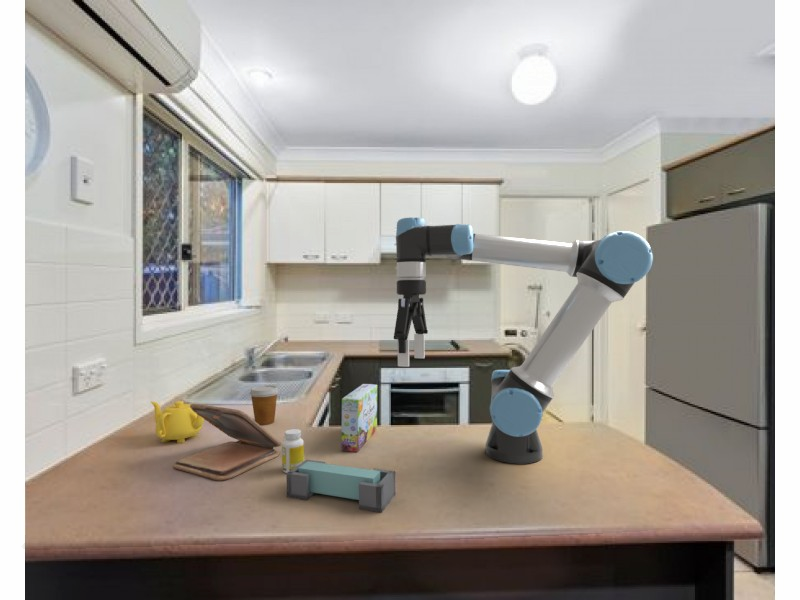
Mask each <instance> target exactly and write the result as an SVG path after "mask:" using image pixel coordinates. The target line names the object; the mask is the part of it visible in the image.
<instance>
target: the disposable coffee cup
mask: <svg viewBox="0 0 800 600" xmlns="http://www.w3.org/2000/svg"><path fill="white" fill-rule="evenodd" d="M249 394H250V396H251V403H252V409H253V410H252V411H253V415H254V421H255V422H257V423H258V424H259V425H260V426H266V425H271V424H274V423H275V420H276V419H275V418H276V408H277V400H278V394H279V389H278V386H276V385H271V384H269V385H266V384H265V385H257V386H253V387H252V388H251V389H250V392H249Z"/></svg>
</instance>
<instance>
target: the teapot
mask: <svg viewBox="0 0 800 600" xmlns="http://www.w3.org/2000/svg"><path fill="white" fill-rule="evenodd" d="M150 403H151V404H152V406H153V407H154V422H155V423H156V424H155V429H154V430H155V434H156V435H157V437H158V438H160V439H161V441H160V443H168V442H170V441H173V440H176V444H178V445H180V444H184V443H186V439H187V438H197V437H198V434H199V432H200V431H201V430H202V429H203V426H204V425H203V424H204V421H205V419H204V418H202V417H201V416H199V415H198V414H196V413H195V412H194V411H193V410H192V409H191V408H190V405H191V404H192V403H184V401H183V400H182V401H181V400H177V401H175V402H174V403H173V405H169V406H166V407H165V408H164V409H163V410H162V409H161V406H160V404H159V403H158V402H156V401H154V400H153V401H150Z"/></svg>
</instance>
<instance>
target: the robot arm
mask: <svg viewBox="0 0 800 600" xmlns="http://www.w3.org/2000/svg"><path fill="white" fill-rule="evenodd" d="M395 234H396V235H395V244H396V249H395V250H396V266H394V270H395V271H396V278H397V279H398V280H397V281H396V294H397V296H398V295H400V296H401V295H402V296H403V298H398V302H397V305H398V306H397V314H396V320H395V325H394V326H395V327H394V333H393V339H394V340H397V367H405V368H406V367H407V368H408V367H410V339H409V334H410V330H411V326H412V325H413V328H414V333H413V337H414V338H413V341H414V342H413V343H414V344H413V345H414V346H413V350H414V354H413V355H414V359H425V357H426V356H425V352H426V350H425V348H426V347H425V345H426V344H425V343H426V341H425V339H426V338H425V335H426V334H428V332H429V331H428V327H427V320H426V314H425V306H424V297H420V295H421V296H422V295H424V296H425V295H426V293H427V281H426V280H425V278H426V277H427V262H426V257H427V256H429V257H432V256H446V257H447V258H448V259H451V260H456V261H459V260H463V261H473V262H482V263H489V264H496V265H497V264H498V265H506V266H512V267H513V266H514V267H523V268H530V269H531V268H532V269H540V270H548V271H557V272H565V273H567V274H568V276H569V277H572V278H576V279H577V284H576V285H575V287H574V288H573V290H572V291H571V293H570V294H569V296H568V297H567V299H565V301H564V303H563V304H562V305H561V307H560V309H559V310H558V311H557V313H556V314H555V316H554V317H553V319H552V321H551V322H550V323H549V324H548V326H547V327H546V329H545V331H543V333H542V335H541V336H540V338H539V339H538V341H537V342H536V344H535V345H534V347H533V348H532V349H531V351H530V352H529V354H528V355H527V357H526V358H525V359H524V361H523V363H521V365H519V366H514V367H511V369H495V370H493V371H492V373H491V378H490V381H491V396H490V397H491V398H490V402H489V415H490V417H491V427H490V429H489V433H488V435H487V438H486V442H485V453H486V455H487V456H488V457H489V458H490V459H494V460H496V461H498V462H503V463H508V464H515V465H516V464H519V465H522V464H525V465H526V464H532V463H535V462H536V463H537V462H538V461H540V460H542V459H543V453H544V452H543V445H542V442H541V440H540V436H539V433H538V428H539V427H540V425H541V422H542V421H543V416H544V414H543V413H544V411H545V410H546V409H547V407H548V406H549V405H550V403H551V401H552V400H553V399H554V397H555V395H554V388H553V387H554V386H555V383H557V381H558V380H559V378H560V377H561V375H562V374H563V373H564V371H565V370H566V368H567V367H568V365H569V364H570V363H571V361H572V360H573V359H574V357H575V356H576V354H577V353H578V352H579V350H580V348H582V345H583V344H584V343H585V341H586V340H587V339H588V337H589V335H590V334H591V333H592V331H594V328H596V325H597V324H598V323H599V321H600V320H601V318H602V317H603V315H604V314H605V313H606V312H607V310H608V309H609V307H610V306H611V305H612V303H614V302H619V301H623V300H624V298H625V296H627V294H628V293H629V291H630V290H631V289H632V287H633V286H634V284H635V283H637V282H639V281H641V280H643V278H644V277H645V276H646V275H648V273H649V271H650V270H651V268H652V265H653V261H654V255H653V251H652V248H651V246H650V243H649V242H648V241H647V240H646V239H645V238H644V237H642V235H640V234H638V233H635V232H632V231H626V230H625V231H624V230H622V231H621V230H620V231H613V232H610V233H609V234H607V235H604V236H603V237H602V238H601V239H595V240H579V239H575V240H574V241H572V242H570V243H568V242H567V243H566V242H559V241H552V240H551V241H549V240H542V239H541V240H540V239H539V240H538V239H529V238H519V237H511V236H501V235H493V234H491V235H490V234H483V233H474V230H473V226H472V225H471V224H461V223H456V224H447V225H445V224H443V225H427V223H426V220H425V218H423V217H403V218H401V219H398V221H397V222H396V233H395Z"/></svg>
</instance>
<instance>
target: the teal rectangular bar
mask: <svg viewBox="0 0 800 600" xmlns="http://www.w3.org/2000/svg"><path fill="white" fill-rule="evenodd" d="M299 473H305V474H309V492H313V493H314V494H318V495H319V494H321V495H326V496H332V497H339V498H345V499H350V500H356V501H357V500H358V501H359V483H360V482H367V483H374V484H379V482H380V471H375V470H373V469H368V468H367V469H366V468H359V467H352V466H343V465H336V464H332V463H331V464H328V463H325V464H324V463H316V462H309V461H308V462H306V463H305V464H303V465H302V466H301V467H299Z"/></svg>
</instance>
